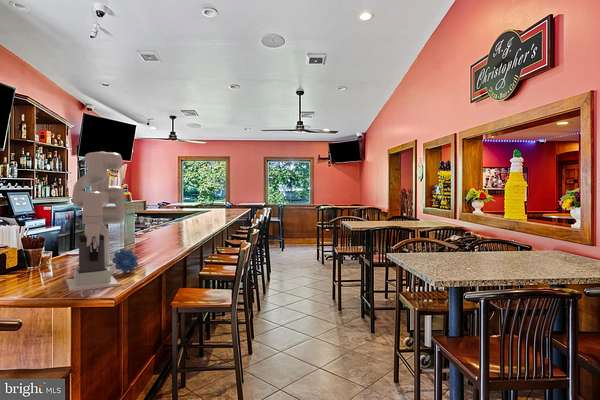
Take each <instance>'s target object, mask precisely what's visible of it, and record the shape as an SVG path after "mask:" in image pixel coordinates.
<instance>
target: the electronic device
mask: <svg viewBox="0 0 600 400" xmlns="http://www.w3.org/2000/svg"><path fill="white" fill-rule="evenodd" d="M86 242H87V238H86V236H85V234H83V235H79V236H78V263H79V264H78V269H79V273H87V272H97V271H105V267H106V266H105V253H104V236H103V235H102V234H100V236H99V246H98V261H90V260H89V259H90V246H88V247H86ZM91 245H93V241H92V242H91ZM97 245H98V243H97Z"/></svg>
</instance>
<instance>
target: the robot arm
mask: <svg viewBox="0 0 600 400" xmlns="http://www.w3.org/2000/svg"><path fill="white" fill-rule="evenodd" d="M84 162H85V166H86V174H84V175H82V176H81V177H80V178H79V179H77V180H76V182H75V183H74V185H73V190H72V194H71V195H72V197H71V199H72V201H71V202H72V204H73V206H74V207H77V208H82V224H84V235H85V236H86V238H87V242H86V247H88V246H90V259H89V260H90V261H98V246H99V236H100V234H102V235H103V236H104V253H105V267H106V266H107V267H108V266H109V267H110V266H112V265H113V264H114V263H113V261H112V260H110V252H111V251H110V241H111V238H110V237H111V236H110V235H111V233H110V230H109V228H108V227H107V226H106V225H115V224H116V225H117V224H118V225H119V224H122V223H123V222H124V220H125V212H126V211H125V190H124V188H123V187H122V186H118V185H110V176H109V174H108V172H107V171H108V170H116V171H117V170H118V171H119V170H121V169H122V167H123V158H122V155H121V153H119V152H118V153H117V152H110V151H109V152H107V151H106V152H105V151H94V152H88V153H86V154H85V156H84ZM88 188H91V189H90V190H85V189H88ZM108 204H109V205H110V204H112V205H110V206H109V205H108ZM113 205H115V206H113ZM92 241H93V245H91V242H92ZM97 243H98V245H97Z"/></svg>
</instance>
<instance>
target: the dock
mask: <svg viewBox="0 0 600 400" xmlns="http://www.w3.org/2000/svg"><path fill="white" fill-rule="evenodd" d="M111 273H112V271H111V269H110V268H109V267H108V266H105V271H97V272H87V273H79V268H76V269H73V278H68V279H67V278H66V280H65V281H66V284H67V287H68V290H69V292H76V291H77V292H78V291H85V290H93V289H102V288H103V289H104V288H111V287H117V286H118V287H119V285H120V283H119V282H118V281H117V279H115V277H114V276H113V275H112V274H111Z"/></svg>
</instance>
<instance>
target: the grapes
mask: <svg viewBox="0 0 600 400" xmlns="http://www.w3.org/2000/svg"><path fill="white" fill-rule="evenodd" d="M113 255H114V257H112V260H111V261H112V262H113V264H115V265H114V266H115V269H116V270H121V272H122V273H125V274H126V273H128V272H132V273H133V272H134V271H135V268H137V267H138V266H139V263H138V259H139V258H138V256H137V255H136V254H134V252H133V250H132V249H128V250H127V249H125V248H121V249H119V251H115V252H114V254H113Z"/></svg>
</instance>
